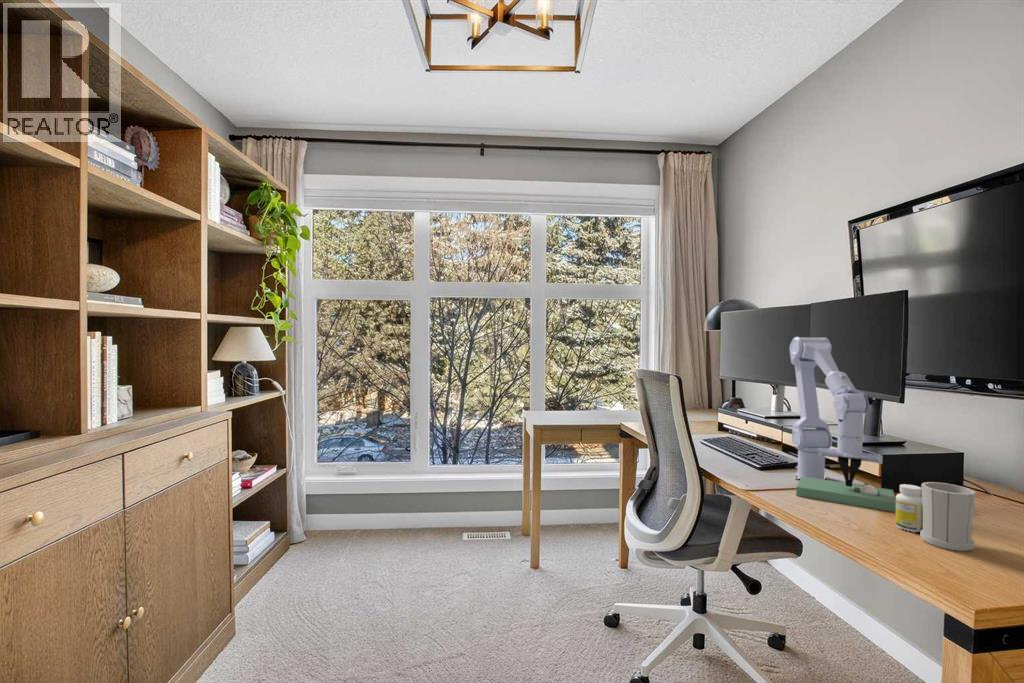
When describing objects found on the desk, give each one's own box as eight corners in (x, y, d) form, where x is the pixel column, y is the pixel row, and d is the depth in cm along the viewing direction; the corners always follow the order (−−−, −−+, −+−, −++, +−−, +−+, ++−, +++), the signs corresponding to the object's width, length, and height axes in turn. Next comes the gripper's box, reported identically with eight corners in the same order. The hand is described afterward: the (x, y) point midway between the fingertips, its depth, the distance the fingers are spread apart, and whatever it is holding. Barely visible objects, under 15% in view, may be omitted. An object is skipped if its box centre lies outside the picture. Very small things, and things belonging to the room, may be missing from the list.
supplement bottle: (914, 525, 119) (915, 483, 119) (930, 534, 114) (932, 490, 114) (889, 523, 120) (890, 482, 120) (905, 532, 114) (906, 489, 114)
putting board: (800, 484, 151) (800, 476, 151) (892, 498, 139) (893, 489, 139) (796, 495, 140) (796, 486, 140) (895, 512, 128) (896, 502, 128)
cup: (920, 529, 116) (921, 477, 116) (973, 540, 111) (975, 485, 110) (919, 544, 108) (921, 488, 108) (977, 556, 102) (979, 497, 102)
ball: (871, 502, 138) (855, 493, 140) (879, 490, 137) (864, 481, 139) (873, 504, 134) (857, 494, 136) (882, 491, 134) (866, 482, 136)
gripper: (818, 435, 139) (817, 484, 140) (883, 442, 131) (882, 494, 131) (819, 431, 145) (818, 478, 145) (882, 437, 137) (881, 487, 137)
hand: (848, 485), depth 139 cm, fingers closed
